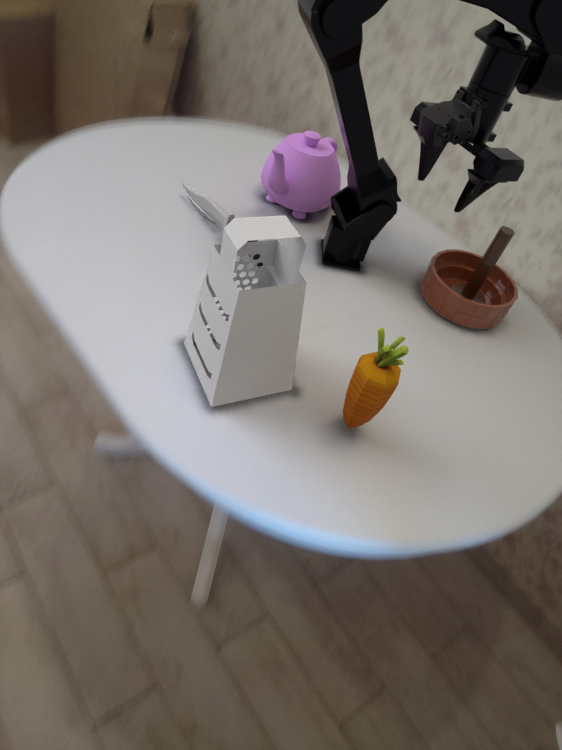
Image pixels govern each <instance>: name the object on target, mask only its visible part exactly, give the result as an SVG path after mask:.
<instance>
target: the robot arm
mask: <svg viewBox="0 0 562 750" xmlns="http://www.w3.org/2000/svg"><path fill="white" fill-rule="evenodd" d="M459 1H460V2H463V3H466V4H470V5H473V6H476V7H479V8H483V9H486V10H488V11H490V12H492V13H493V14H495V15H497V16H498V17H500V18H501V19H503V20H504V21H505V22H507V23H509V24H510V25H512V26H513V27H515V29H516V31H517V32H519V33H516V32H513V31H509V30H507V29H506V28H505V24H504V23H503V22H501V21H500V20H498V19H496V18H495V19H493V20H492V21H491V22H490V23H488V24H487V25H484V26H482V27H480V28H478V29H476V30H475V31H474V34H473V35H474V38H475V39H477V40H479V41H481V42H482V43H483V44H485V46H484V48H483V51H482V53H481V55H480V58H479V60H478V62H477V64H476V66H475V68H474V70H473V72H472V75H471V77H470V79H469V82H468V84H467V86H466V85H465V86H464V85H460V86H459V88H458V89H457V90H456V91H455V94H454V96H453V98H452V99H450V100H443V101H440V102H431V101H420V102H419V103H418V104H417V105H416V106H415V107H414V109H413V110H412V114H411V116H410V119H409V121H410V122H411V123H413V124H414V125H413V130H414V131H415V133H416V134H417V136H418V139H419V141H420V145H419V146H420V149H419V159H418V160H419V161H418V170H417V171H418V172H417V180H418V181H419V182H423V181H425V180H426V179H427V177H428V176H429V174H430V173H431V171H432V169H434V167H435V165H436V163H437V162H438V159H440V157H441V155H442V153H443V152H444V150H445V149H446V147H447V145H448V144H449V143H450V144H452V145H453V146H456V145H459V146H461V147H462V148H463V149H465V150H466V151H467V152H468V153H469V154H471V155H472V156H473V157H474V158H473V161H472V166H473V168H467V171H466V172H467V176H468V179H467V182H466V183H465V186H464V188H463V189H462V191H461V193H460V195H459V197H458V199H457V201H456V204H455V206H454V209H453V212H455V213H461V212H462V211H463V210H465V209H466V208H467V207H468V206H470V205H471V204H472V203H473V202H474V201H476V200H477V199H478V198H479V197H481V196H482V195H483V194H484V193H485V192H487V191H488V190H490V189H492V188H493V187H494V186H496V185H498V184H505V183H506V184H507V183H508V182H510V183H511V182H512V183H513V182H518V181H519V180H520V177H521V176H522V175H523V172H524V171H525V166H526V165H525V160H524V159H523V158H522V157H521V156H519V155H517V154H516V153H515V152H513V151H511V149H509V148H507V147H490V146H489V145H487V143H494V142H495V139H496V138H497V136H498V134H497V133H495V132H494V129H495V127H496V125H497V123H498V121H499V120H500V117H501V116H502V114H503V112H506V113H510V111H511V110H512V107H513V105H514V104H513V103H512V102H511V101H509V100H510V99H511V96H512V94H513V93H514V90H515V89H516V91H517V92H518V94H520V95H524V96H529V97H533V98H538V99H543V100H548V101H552V102H561V101H562V0H459ZM388 2H389V0H297V8H298V13H299V16H300V18H301V20H302V24H303V25H304V27H305V29H306V32H307V34H308V36H309V38H310V40H311V42H312V44H313V47H314V48H315V50H316V52H317V54H318V57H319V59H320V61H321V63H322V65H323V67H324V69H325V70H324V71H325V73H326V78H327V82H328V86H329V90H330V93H331V97H332V103H333V105H334V109H335V113H336V117H337V118H336V119H337V121H338V125H339V129H340V133H341V137H342V142H343V146H344V148H345V154H346V157H347V162H348V168H347V169H348V170H347V175H346V181H347V182H346V183H347V185H346V186H345V187H343V188H342V189H340V191H339V192H337V193H336V194H334V195H333V196H331V198H330V199H331V205H330V209H331V211H333V214H332V215H331V216H330V219H329V223H328V226H327V229H326V232H325V236H324V238H323V239H321V240H320V256H321V258H320V259H321V264H323V265H326V266H330V267H337V268H341V269H345V270H346V269H347V270H352V271H357V272H358V271H359V272H360V271H361V269H362V264H361V263H363V262H364V261H365V258H366V256H367V253H368V251H369V249H370V246H371V244H372V241H374V240H375V239H376V238H377V237H378V235H379V234H380V232H381V231H382V230H383V229H384V228H385V226H386V225H387V224H388V223H389V222H390V221H391V220H393V218H394V216H395V215H397V213H398V203H401V202H402V199H401V197H400V195H399V194H398V178H397V176H396V174H395V172H394V171H393V169H392V168H391V166H390V165H389V163H388V162H387V160H386V159H385V157H380V158H379V155H378V154H379V153H378V149H377V144H376V140H375V135H374V131H373V125H372V120H371V115H370V111H369V105H368V100H367V96H366V91H365V84H364V81H363V75H362V70H361V55H362V48H363V41H364V37H363V34H364V33H363V24H364V23H366V22H367V21H369V20H370V19H371V18H373V17H374V16H376V15H377V14H378V13H379V12H380V10H381V9H382V8H383V7H384V6H385V4H387V3H388ZM522 35H523V36H524V37H526V38H527V39H528V40H530V43H529V44H526V42H525V39H524V37H523V36H522Z"/></svg>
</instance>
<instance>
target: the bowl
mask: <svg viewBox="0 0 562 750" xmlns="http://www.w3.org/2000/svg"><path fill="white" fill-rule="evenodd" d="M482 257H483V255H481V254H477V253H476V252H473V251H468V250H464V249H456V248H454V249H450V248H449V249H448V248H447V249H444V250H439V251H437V252H436V253H435V254H434V255H433V256H432V257H431V259H430V260H429V263H428V264H427V267H426V268H425V270H424V272H423V274H422V277H421V278H420V282H419V290H420V293H421V296H422V298H423V299H424V301H425V302H426V304H427V305H428V306H429V307H430V308H431V309H433V311H435V312H436V313H437V314H438V315H440V316H441V317H443V318H444V319H447V320H448V321H450V322H452V323H454V324H457V325H460V326H462V327H465V328H470V329H475V330H485V329H486V330H487V329H488V330H489V329H492V328H494V327H496V326H498V325H500V324H501V322H502V321H503V320H504V319H505V316H506V315H507V314H508V312H509V311H510V310H511V309H512V307H513V306H514V304H515V303H516V301H517V300H518V298H519V289H518V286H517V284H516V281H515V280H514V279H513V277H512V276H511V275H510V274H509V273H508V272H507V271H506V270H505V269H504V268H503V267H501V266H500V265H498V264H497V263H496V264H495V266H494V267H493V269H492V271H491V272H490V274H489V275H488V277H487V278H486V280H485V282H484V283H483V285H482V286H481V288H480V289H479V291H481V292H482V294H483V295H484V297H485V299H486V302H485V304H482V303H478V302H475V301H472V300H470V299H467V298H465V297H463V296H461V295H460V294H458V293H456V292H455V291H453V290H452V289H451V288H450V287H451V285H453V284H454V283H467V282H468V280H469V279H470V277H471V275H472V274H473V272H474V270H475V269H476V267H477V265H478V264H479V262H480V260H481V259H482Z"/></svg>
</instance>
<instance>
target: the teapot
mask: <svg viewBox="0 0 562 750" xmlns="http://www.w3.org/2000/svg"><path fill="white" fill-rule="evenodd" d="M337 151H338V141H336V139H334V138H333V137H330V136H327V137H324V138H322V135H321V134H320V133H318V132H317V131H313V130H305V131H304V132H294V133H290V134H288V135H287V136H285V137H284V138H283V139H282V140H281V141H280V142H279V143H278V145H276V146H275V147H274V148H273V149H271V152H270V153H269V155H268V156H267V157H266V160H265V162H264V164H263V167H262V169H261V174H260V179H261V184H262V186H263V188H264V190H265V192H266V193H267V195H266V196H265V198H266V201H268V202H270V203H274V204H276V203H277V204H279V205H280V206H282V207H284V208H286V209H288V210H292V212H291V215H292V217H294V218H295V219H299V220H305V219H306V218H307V213H315V212H320V211H322V210H325V209H327V208H328V207H331V199H330V198H331V196H333V195H334V194H336V193H337V192H339V191H340V190H341V186H342V175H341V167H340V164H339V160H338V156H337Z"/></svg>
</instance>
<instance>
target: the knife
mask: <svg viewBox="0 0 562 750" xmlns="http://www.w3.org/2000/svg"><path fill="white" fill-rule="evenodd" d="M181 184H182V187H183V189H184V188H185V190H186V192H187V193H188V194H189V196H190V197H191V198H192V200H193V201H194V202H195V203H196V204H197V205H198V206H199V207H200V208H201V209H202V210H203V211H204V212H205V213H206V214H207V215H208V216H209V217H210V218H211V219H212V220H213V221H214V222H215V223H216V224H215V223H214V222H213V221H212V220H211V219H210V218H209V217H208V216H207V215H206V214H205V213H204V212H202V211H201V210H200V209H199V208H198V207H197V206H196V205H195V204H194V203H193V202H192V200H191V199H190V198H189V197H188V195H187V194H186V196H187V198H188V200H189V202H190V203H191V205H192V206H193V207H194V208H195V210H196V211H197V212H198V213H199V214H201V215H202V216H204V217H206V218H207V219H208V220H210V221H211V222H212V223H214V224H215V225H216V226H217V227H218V228H219V229H220V230H221V232H222V233H221V234H222V235H223V231H224V227H225V226H226V225H227V224H228V223H230V222H231V221H232V220H233V219H234V218H236V217H235V216H236V215H235V213H234V212H231V213H228V211H226V210H225V209H224V208H223V207H222V206H221V205H220V204H219V203H218V202H217V201H216V200H215V199H214V198H212V197H211V196H210V195H207V194H205V193H202V192H199V191H198V190H197V189H195V188H194V187H192V185H191V184H188V183H187V182H185V181H183V180H181ZM185 190H184V191H185ZM186 192H185V193H186ZM256 241H259V240H252V241H247V242H256ZM248 257H250V258H251V256H250V255H248ZM259 258H260V255H259V254H256V255H254V256H253V259H254V260H258V259H259ZM262 266H263V263H262V262H260V263H258V264H257V265H256V267H257V268H261V267H262Z"/></svg>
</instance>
